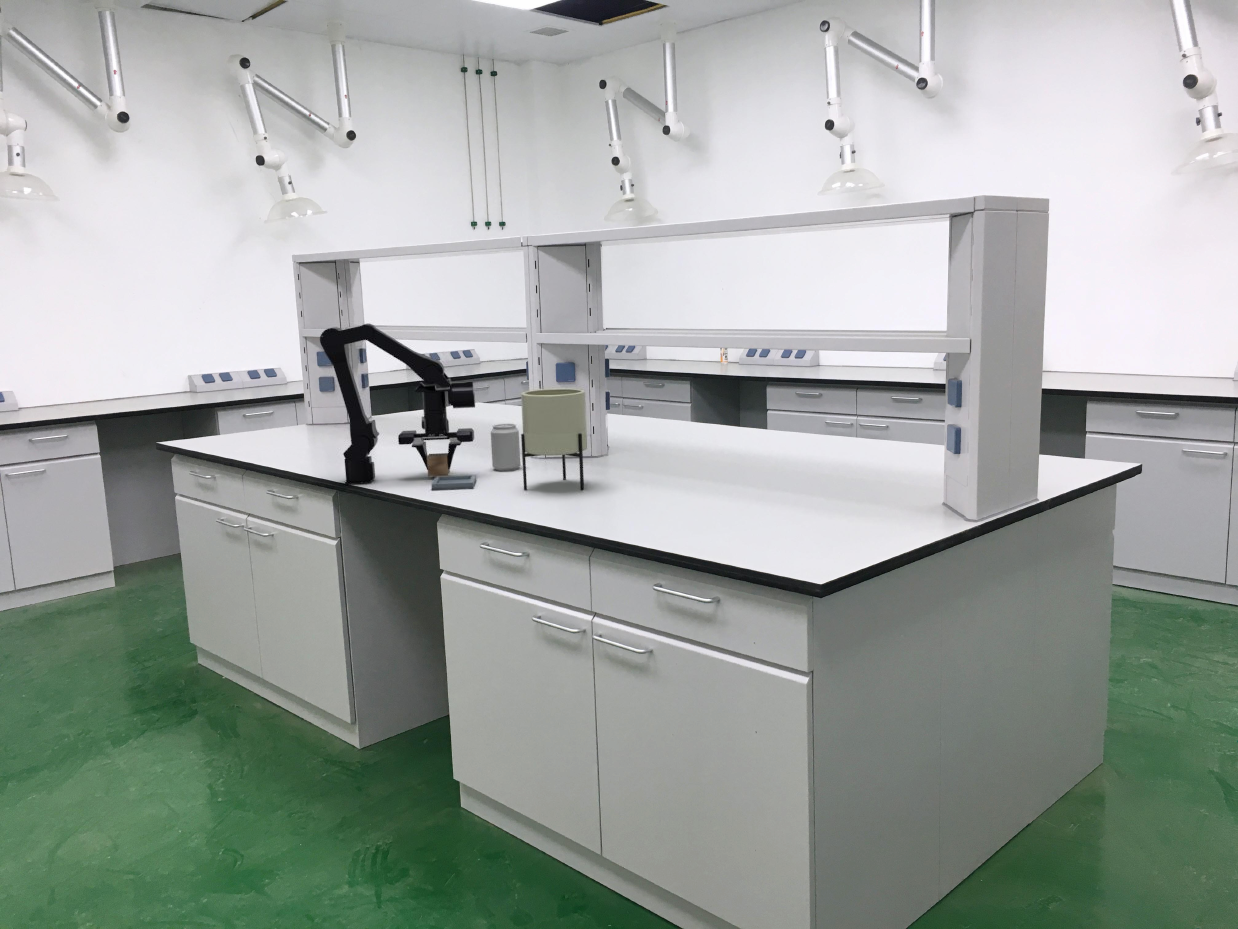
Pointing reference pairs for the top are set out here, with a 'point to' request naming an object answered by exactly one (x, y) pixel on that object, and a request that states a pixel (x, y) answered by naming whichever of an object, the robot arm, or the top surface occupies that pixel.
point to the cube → (438, 464)
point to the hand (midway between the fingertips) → (438, 469)
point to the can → (505, 447)
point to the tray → (454, 482)
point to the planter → (554, 425)
